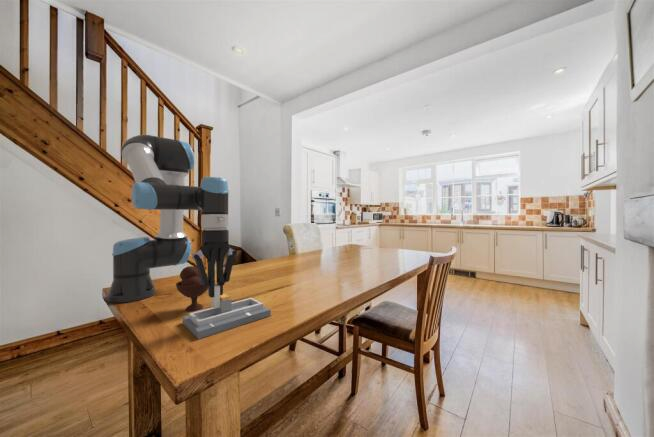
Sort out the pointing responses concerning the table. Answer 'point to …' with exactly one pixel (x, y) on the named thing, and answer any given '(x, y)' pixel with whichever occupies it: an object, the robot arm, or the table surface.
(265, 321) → the table surface
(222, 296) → the fader tab
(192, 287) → the ice cream bowl
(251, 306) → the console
